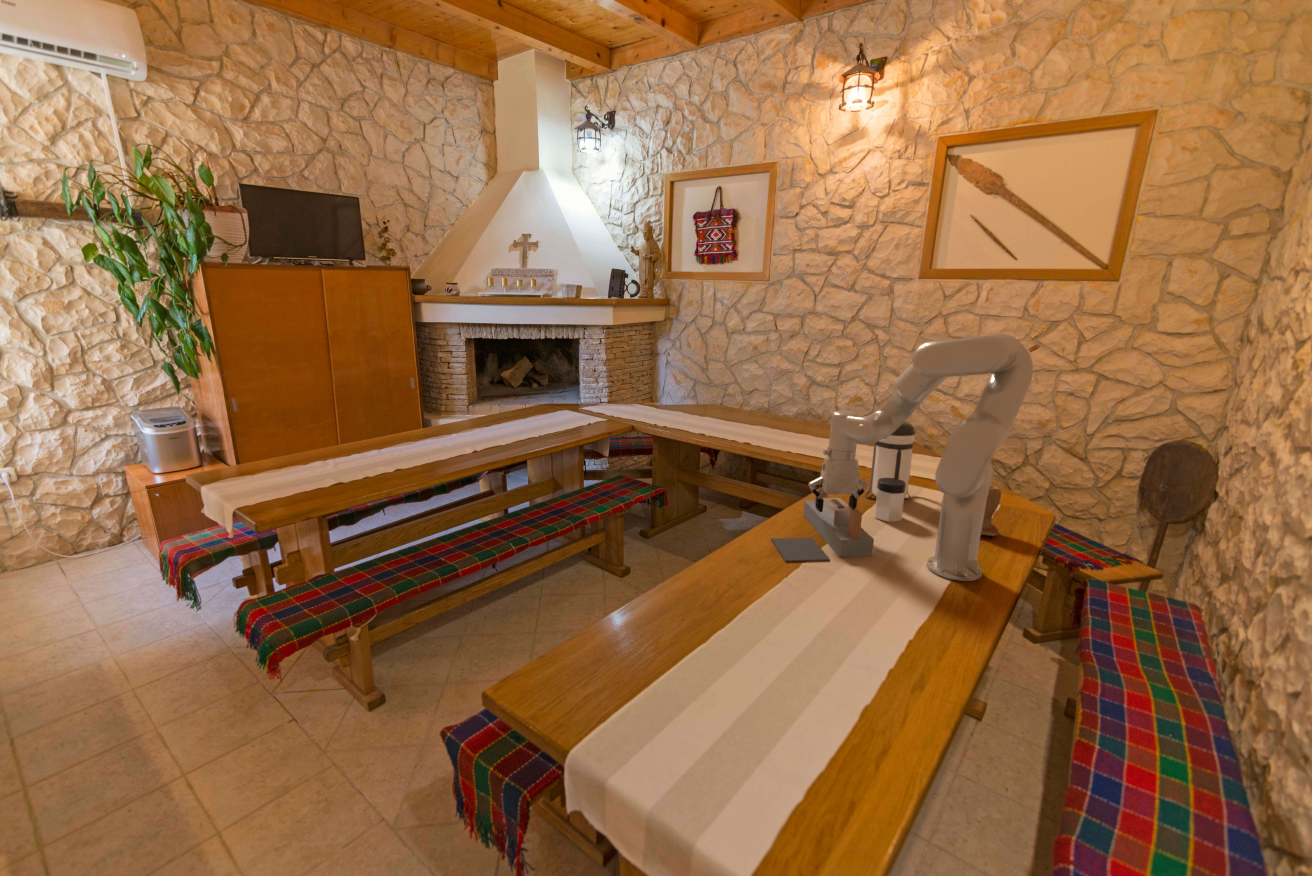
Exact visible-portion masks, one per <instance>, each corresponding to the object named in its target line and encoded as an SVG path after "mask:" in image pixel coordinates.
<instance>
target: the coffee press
mask: <svg viewBox="0 0 1312 876" xmlns="http://www.w3.org/2000/svg"><path fill="white" fill-rule="evenodd" d="M916 433H917V430H916V429H915V427H914V425H913V424H912V423H910V422H907V421H905V422H904V423H903V424H902V425H901V426H900V427H899V428H898V429H897V430H896V431H895V432H893V433H892V434H891V435H890V436H888V437H887V438H884V439H882V440H880V441H878V442H875V443H873V444H874V446H873V452H872V453H873V454H872V463H871V464H872V465H871V473H870V483H869V489H868V491H867V492H866V493H865V497H866V499H870V498H872V497H874V496H875V497H876V496H877V485H878V480H879V479H880V478H895V479H899V480H902V481H904V482H905V483H906V485H905V491H904V493H905V495H904V498H905V499H906V500H907V501H908V500H910V499H911V495H910V493H909V482H910V475H911V467H912V466H911V465H912V458H913V451H914V450H913V449H914V445H915V441H914V440H915V435H916ZM870 493H871V494H870ZM869 494H870V495H869ZM868 495H869V496H868ZM907 495H908V497H907Z"/></svg>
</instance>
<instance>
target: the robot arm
mask: <svg viewBox="0 0 1312 876" xmlns="http://www.w3.org/2000/svg"><path fill="white" fill-rule="evenodd" d="M911 361H912V362H911V363H910V365H909V366H908V367H907V368H906V369H905V370H904V371H903V372H902V373H901V374H900V375H899V376H898V377H897V378H896V379H895V380H894V382H893V392H892V393H891V395H890V396H889V398H888V399H886V401H885V402H884V403H883V404H882V405H881V406H880V407H879V408H878V409H877V410H876V411H875V412H874V413H872V414H871V413H870V414H869V415H864V416H860V415H859V414H858V412H855V411H853V410H836V411H833V413H832V414H831V419H830V429H829V439H828V447H827V449H825V450H823V452H822V453H823V455H824V456H825V458H824V460H823V463H822V467H821V472H820V476H819V477H817V478H816V479H814V480H812V481H810V482H808V487H809V489H810V492H812V493H813V495H814V496H815V498H816V508H817V509H818V511H819V512H822V511H823V503H824V499H823V497H824V496H825V494H826V493H827V494H828V495H849V498H848V505H849V506H850V507H851V508H852V509H853V510H856V508H857V506H858V499H859V498H860V497H861V496H862V495H863V494H864V493H865V490H867V488H868V486H869V483H868V482H866V481H864V480H862V479H860V472H859V471H860V470H859V469H860V468H859V460H858V459H857V458H856V455H857V445H858V443H859V444H862V445H873V444H874V443H875V442H878V441H880V440H882V439H884V438H887V437H888V436H890V435H891V434H892V433H893V432H895V431H896V430H897V429H898V428H899V427H900V426H901V425H902V424H903V423H904V422H907V420H908V419H909V418H910V417H911V416H912V415H913V414H914V412H915V411H916V410H917V409H918V408H919V407H920V405H921V404H922V403H923V402H924V401H925V400H926V399H927V398H928V397H929V396H930V395H931V394H932V393H933V392H934V391H935V390H936V389H937V388H938V387H939V386H940V385H941V384H942V383H943V382H944V381H945V380H946V379H948V378H949V377H951V378H952V377H961V376H962V377H963V376H965V377H966V376H976V375H977V376H978V375H980V376H981V375H988V374H989V377H988V379H987V382H986V384H985V386H984V388H983V389H982V391H981V394H980V397H979V399H978V401H977V403H976V406H975V407H974V409H973V411H972V412H971V414H970V415H969V416H967V417H965V418H964V419H962V420H961V421H960V422H959V423H958V424H957V425H956V426H955V428H954V429H953V432H952V433H951V435H950V437H949V440H948V442H947V444H946V446H945V449H944V451H943V453H942V454H941V458H940V460H939V462H938V465H937V467H936V469H935V477H934V478H935V479H934V480H935V484H936V486H937V487H938V489H939V490H940V492H942V494H943V495H942V501H941V507H940V513H939V520H938V526H937V527H938V528H937V535H936V543H935V549H934V555H932V556H930V557H928V558H927V560H926V567H927V568H928V569H929V571H931V572H933V573H934V574H936V575H938V576H940V577H943V578H945V579H949V580H953V581H959V582H960V581H961V582H973V581H977V580H979V579H981V578H982V576H983V571H982V569H981V567H980V566H979V561H977V560H978V556H979V547H980V541H981V530H982V524H983V517H984V512H985V506H986V501H987V496H988V492H989V488H990V485H992V480H993V472H994V471H993V465H992V462H991V460H992V459H993V456H994V454H995V453H996V451H997V450H998V449H999V448H1001V447H1002V446H1003V445H1004V443H1006V441H1007V439H1008V436H1009V434H1010V432H1011V429H1012V427H1013V424H1014V423H1015V420H1016V418H1017V416H1018V415H1019V412H1020V410H1021V407H1022V404H1023V403H1024V400H1025V398H1026V396H1027V393H1028V391H1029V389H1030V386H1031V383H1032V380H1033V373H1034V366H1033V360H1032V357H1031V354H1030V352H1029V350H1028V349H1027V348H1026V346H1025V345H1024V344H1023V343H1022V342H1021V341H1019V340H1018V339H1017V338H1016V337H1013V336H1012V335H1010V334H1006V333H992V334H986V335H978V336H971V337H964V338H954V339H937V340H931V341H926V342H924V343H923V344H921V345H920V346H918V348H917V349H916V350H915V351H914V353H913V355H912V359H911ZM816 486H819V490H818V489H816ZM817 490H818V491H817Z"/></svg>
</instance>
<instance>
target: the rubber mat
mask: <svg viewBox="0 0 1312 876" xmlns="http://www.w3.org/2000/svg"><path fill="white" fill-rule="evenodd" d="M770 540H771V542H772V544H773V545H774V547H775V548H776V550H777V552H778V554H780V556H781V557H782V560H783V561H784V562H785V563H801V562H802V563H804V562H805V563H806V562H830V561H831V558H830V557H829V556H828V555H827V553H825V552H824V550H823V549H822V548H821V547H820V545H819V544H818V543H817V542H816V540H815V539H814V538H813V537H811V536H810V537H777V538H776V537H774V538H770Z"/></svg>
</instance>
